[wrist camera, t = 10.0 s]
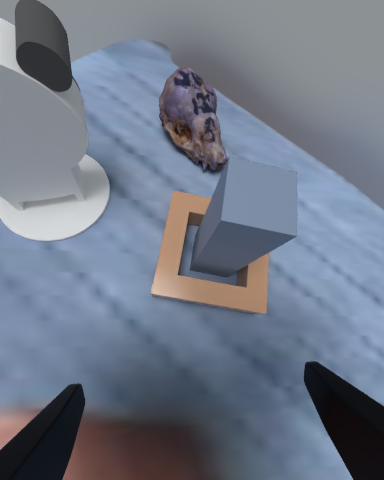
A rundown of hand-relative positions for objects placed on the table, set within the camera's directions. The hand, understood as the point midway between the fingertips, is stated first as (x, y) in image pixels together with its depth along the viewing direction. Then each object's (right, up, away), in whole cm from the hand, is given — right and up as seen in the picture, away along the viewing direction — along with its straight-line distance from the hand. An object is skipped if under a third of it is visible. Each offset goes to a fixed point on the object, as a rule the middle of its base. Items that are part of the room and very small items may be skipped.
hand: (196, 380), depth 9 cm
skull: (0, +19, +20) cm, 28 cm away
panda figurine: (-15, +11, +15) cm, 24 cm away
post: (+2, +4, +15) cm, 16 cm away
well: (+2, +4, +15) cm, 16 cm away
